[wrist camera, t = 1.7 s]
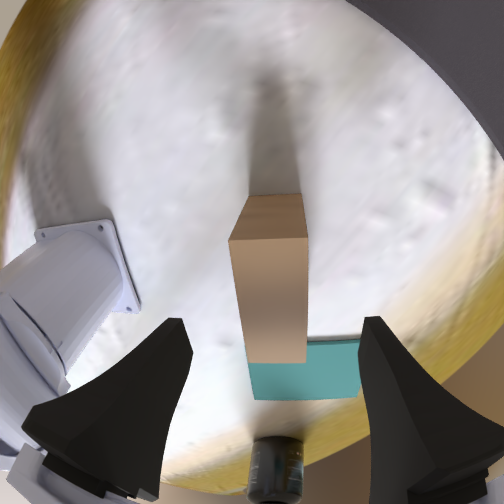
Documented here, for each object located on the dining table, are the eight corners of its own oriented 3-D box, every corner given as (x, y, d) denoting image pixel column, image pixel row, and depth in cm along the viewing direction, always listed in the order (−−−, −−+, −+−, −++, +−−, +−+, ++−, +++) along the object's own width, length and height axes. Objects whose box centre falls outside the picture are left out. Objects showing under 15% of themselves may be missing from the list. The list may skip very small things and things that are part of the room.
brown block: (303, 294, 19) (306, 362, 13) (259, 295, 19) (248, 362, 14) (301, 193, 15) (308, 237, 10) (249, 196, 16) (228, 240, 11)
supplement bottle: (271, 455, 33) (262, 524, 22) (243, 439, 31) (228, 518, 20) (313, 447, 30) (310, 523, 20) (288, 431, 28) (280, 519, 18)
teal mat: (254, 396, 25) (254, 399, 25) (245, 342, 21) (244, 345, 21) (356, 393, 23) (356, 397, 23) (371, 338, 20) (372, 341, 19)
